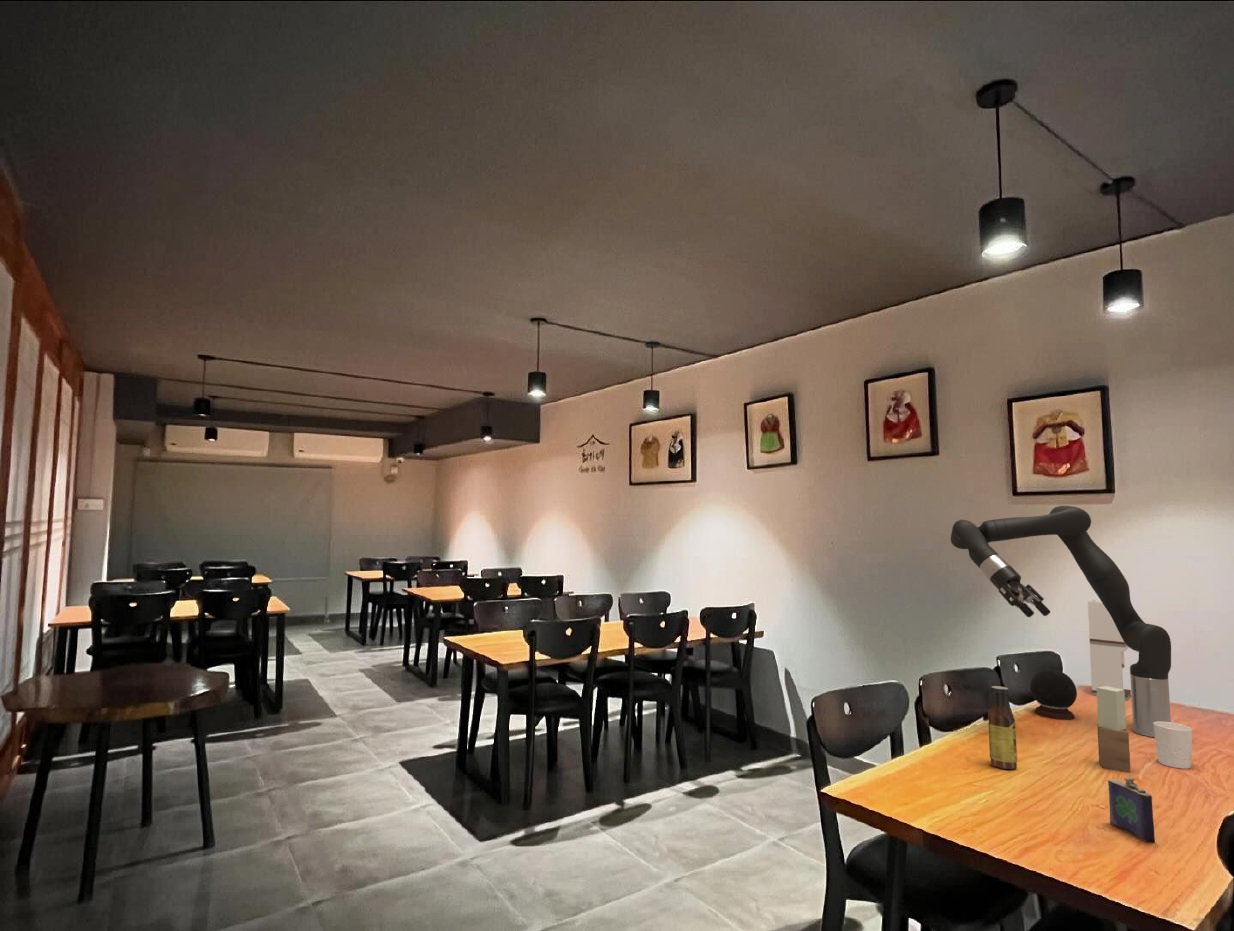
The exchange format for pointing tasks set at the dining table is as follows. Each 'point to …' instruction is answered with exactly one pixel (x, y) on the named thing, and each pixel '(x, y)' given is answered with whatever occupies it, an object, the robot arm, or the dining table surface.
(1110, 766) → the tower lower
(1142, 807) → the flask
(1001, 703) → the sauce bottle
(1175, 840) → the dining table surface
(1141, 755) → the dining table surface
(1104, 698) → the sage block
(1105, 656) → the mini white fridge
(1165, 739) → the white cup
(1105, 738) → the tower upper
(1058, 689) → the black oval
